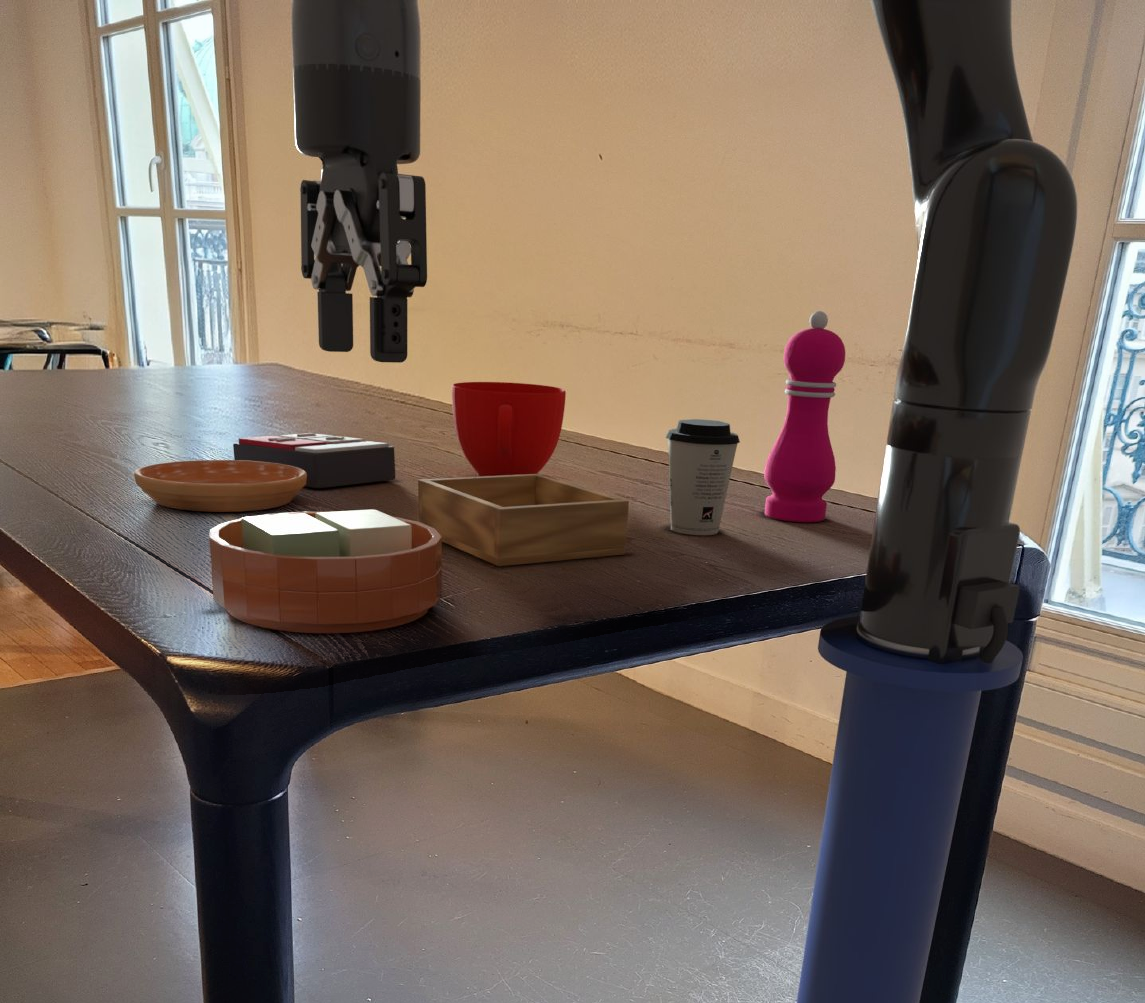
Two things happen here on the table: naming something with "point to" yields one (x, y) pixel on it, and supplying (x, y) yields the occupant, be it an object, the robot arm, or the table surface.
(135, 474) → the saucer
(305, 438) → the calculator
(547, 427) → the ceramic cup
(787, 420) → the pepper mill
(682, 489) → the coffee cup
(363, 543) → the block
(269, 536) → the packet
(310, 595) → the bowl
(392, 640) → the table surface
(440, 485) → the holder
